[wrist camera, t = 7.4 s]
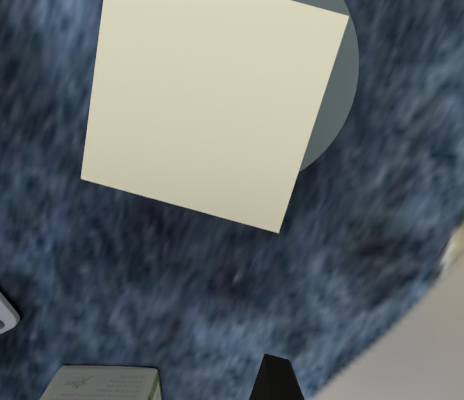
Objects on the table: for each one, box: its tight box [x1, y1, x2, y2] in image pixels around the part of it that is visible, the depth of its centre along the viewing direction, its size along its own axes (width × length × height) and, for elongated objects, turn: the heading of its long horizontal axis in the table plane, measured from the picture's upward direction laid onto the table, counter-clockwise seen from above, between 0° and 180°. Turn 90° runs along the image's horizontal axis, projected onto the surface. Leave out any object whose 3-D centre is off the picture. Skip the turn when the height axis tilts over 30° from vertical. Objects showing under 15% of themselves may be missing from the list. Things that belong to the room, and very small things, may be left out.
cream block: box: [81, 0, 349, 233], centre depth 11 cm, size 4×4×6 cm
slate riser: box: [292, 0, 359, 172], centre depth 16 cm, size 8×8×4 cm
